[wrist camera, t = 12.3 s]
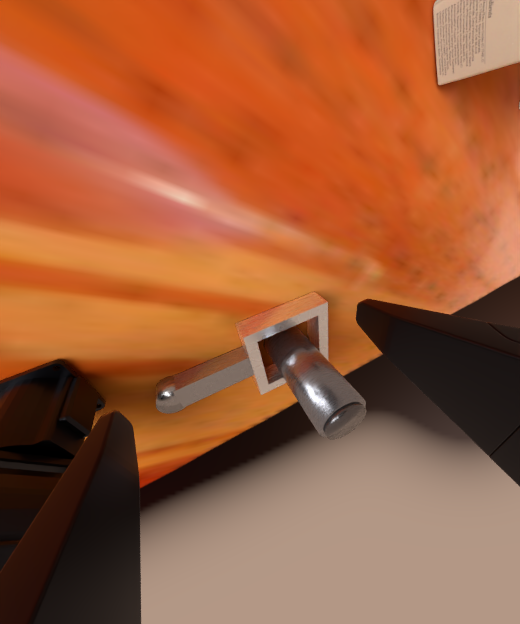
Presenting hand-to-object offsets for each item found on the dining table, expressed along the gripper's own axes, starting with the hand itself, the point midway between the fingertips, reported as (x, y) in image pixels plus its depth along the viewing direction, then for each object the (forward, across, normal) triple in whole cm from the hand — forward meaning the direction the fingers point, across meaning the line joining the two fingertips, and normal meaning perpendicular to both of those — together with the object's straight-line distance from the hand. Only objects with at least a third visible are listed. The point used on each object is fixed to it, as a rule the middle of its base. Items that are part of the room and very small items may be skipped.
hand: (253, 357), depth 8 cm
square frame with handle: (+13, -1, +13) cm, 18 cm away
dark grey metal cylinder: (+13, -6, +13) cm, 19 cm away
